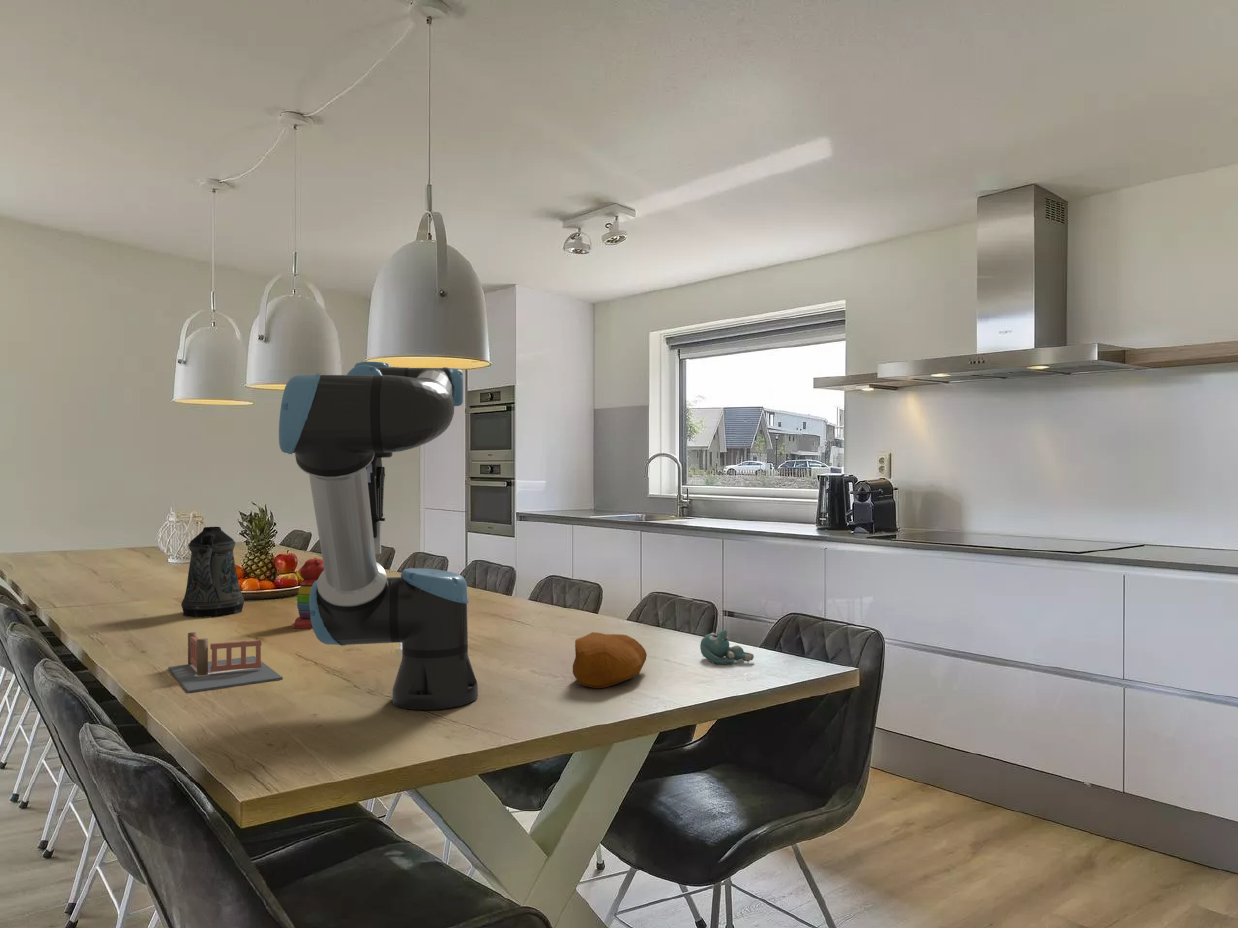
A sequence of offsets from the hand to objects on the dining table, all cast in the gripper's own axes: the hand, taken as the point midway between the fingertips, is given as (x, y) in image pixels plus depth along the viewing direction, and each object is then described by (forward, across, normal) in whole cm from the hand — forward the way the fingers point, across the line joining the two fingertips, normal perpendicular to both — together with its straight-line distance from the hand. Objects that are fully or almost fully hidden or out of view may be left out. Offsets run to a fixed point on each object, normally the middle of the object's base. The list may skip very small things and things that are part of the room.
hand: (373, 553), depth 175 cm
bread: (+25, +11, +48) cm, 55 cm away
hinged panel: (+23, -3, -28) cm, 37 cm away
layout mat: (+24, -3, -31) cm, 39 cm away
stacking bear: (+25, -58, -26) cm, 68 cm away
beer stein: (+25, -80, -60) cm, 103 cm away
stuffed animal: (+25, -2, +74) cm, 78 cm away
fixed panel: (+24, -6, -37) cm, 45 cm away
